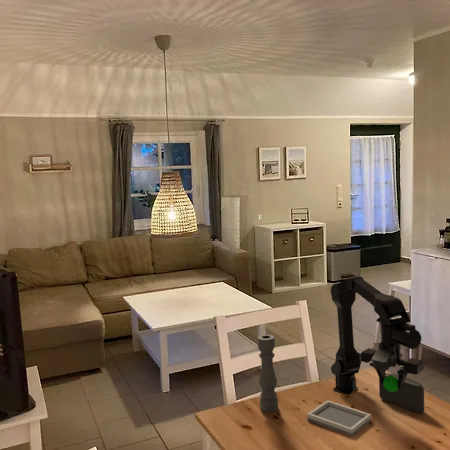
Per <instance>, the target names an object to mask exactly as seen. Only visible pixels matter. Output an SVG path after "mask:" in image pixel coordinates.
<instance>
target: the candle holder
mask: <svg viewBox="0 0 450 450" xmlns="http://www.w3.org/2000/svg"><path fill="white" fill-rule="evenodd" d="M275 340H276V339H275V335H273V334H261V335H260V334H259V335H258V336H257V347H258V350H259V352H260V353H259V355H258V356H259V358H260V361H261V362H260V363H261V369H260V375H259V379H258V383H259V386H260V387H261V392H260V395H259V396H260V397H259V409H260V411H262V412H265V413H274V412H276V411H278V409H279V398H278V394H277V392H276V391H275V389H276V387H277V384H278V380H277V375H276V372H275V369H274V358H275V353H274V349H275V347H276V345H275V344H276V342H275Z"/></svg>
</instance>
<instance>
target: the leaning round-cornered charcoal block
mask: <svg viewBox="0 0 450 450" xmlns="http://www.w3.org/2000/svg"><path fill="white" fill-rule="evenodd" d="M389 375H391V376H395V377H396V378H397V379H398V374H395V373H387V372H385V377H387V376H389ZM378 384H379V385H378V386H379V388H378V389H379V390H378V391H379V397H380V399H382V400H383V401H384V402H388V403H390V404H393V405H395V406H398V407H400V408H401V407H402V408H404V409H407V410H410V411H413V412H415V413H418V414H423V413H424V412H425V388H424V386H423V385H422V383H420V382H418V381H417V380H415V379H412V378H410V377H407V376H406V378H405V381H404V383H403V385H402V388H401V389H400V390H399V389H398V390H397V391H395V392H389V391H387V390H386V389H385V388H384V386H383V385H382V383H381V381H380V378H379V377H378Z"/></svg>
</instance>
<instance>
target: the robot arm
mask: <svg viewBox="0 0 450 450" xmlns="http://www.w3.org/2000/svg"><path fill="white" fill-rule="evenodd" d="M356 294H358V295H359V296H360V297H361V298H363V299H364V300H365V301H367V302H368V303H370V304H371V305H372V306H373V311H374V312H375V313H376V314H377V315H378V318H377V319H376V322H378V323H380V342H379V343H378V349H374V348H370V347H369V348H367V349H364V350H363V351H361V352H359V351H358V350H357V349H356V348H355V344H354V341H355V340H354V327H353V326H354V325H353V310H352V309H353V308H352V307H353V305H354V303H355V302H356V296H357V295H356ZM330 295H331V300H332V302H333V304H334V305H335V306H336V309H337V322H338V323H337V325H338V339H339V348H338V349H337V351H336V353H335V362H333V364H332V365H331V366H330V370H331V374H333V375H334V376H335V387H333V391H336V392H339V393H341V394H346V395H350V394H352V393H353V392H355V391H356V390H358V386H357V378H356V374H359V372H360V370H361V369H360V368H361V364H362V363H366V364H369V366H370V367H372V368H373V369H374V370H375V371H376V373H377V376H378V379H379V378H380V381H381V383H382V385H383V381H384V378H385V373H387V371H389V369H390V368H392V367H393V368H395V367H396V366H399V369H398V370H397V371H396V373H397V375H398V389H399V390H400V389H401V388H402V385H403V383H404V381H405V378H406V377H407V376H408V374H411V375H415V376H416V375H418V374H420V373H421V372H423V371H424V370H425V363H424V361H423V359H418V358H413V357H410V358H408V359H407V360H405V359H402V358H403V353H402V352H401V346H403V347H405V348H407V349H410V350H414V349H417V348H418V347H419V346H420V345H421V342H422V336H421V333H420V331H419V330H417V329H416V325H414V324H410V323H411V319H410V315H409V314H408V312H407V309H406V308H405V306H404V304H403V301H402V300H401V299H399V298H398V297H395V296H393V295H390V294H386V293H383V292H381V291H380V290H379V289H377V288H376V287H375V286H373V285H372V284H370V283H369V282H368V281H366V280H364V278H363V277H362V276H358V275H357V276H351V277H348V278H346V279H344V280H342V281H340V282H336V283H333V284H332V285H331V287H330Z"/></svg>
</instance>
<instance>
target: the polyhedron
mask: <svg viewBox="0 0 450 450" xmlns="http://www.w3.org/2000/svg"><path fill="white" fill-rule="evenodd" d="M383 386H384V388H385V389H386V390H387V391H389V392H395V391H397V390H398V379H397V378H396V377H395V376H391V375H389V376H387V377H385V378H384V381H383Z"/></svg>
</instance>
